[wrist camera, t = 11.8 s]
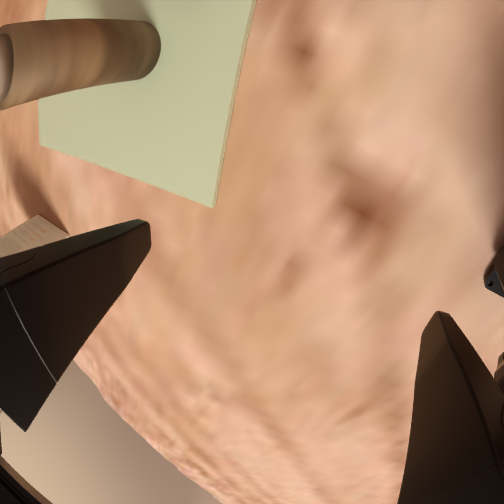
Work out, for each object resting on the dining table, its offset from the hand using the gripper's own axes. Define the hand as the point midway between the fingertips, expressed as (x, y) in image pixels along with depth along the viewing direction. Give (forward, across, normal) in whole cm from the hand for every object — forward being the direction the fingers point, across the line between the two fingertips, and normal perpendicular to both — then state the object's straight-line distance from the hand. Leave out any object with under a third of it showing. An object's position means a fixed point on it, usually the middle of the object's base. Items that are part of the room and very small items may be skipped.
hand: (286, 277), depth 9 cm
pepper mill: (+13, +16, -6) cm, 21 cm away
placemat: (+14, +19, -4) cm, 24 cm away
